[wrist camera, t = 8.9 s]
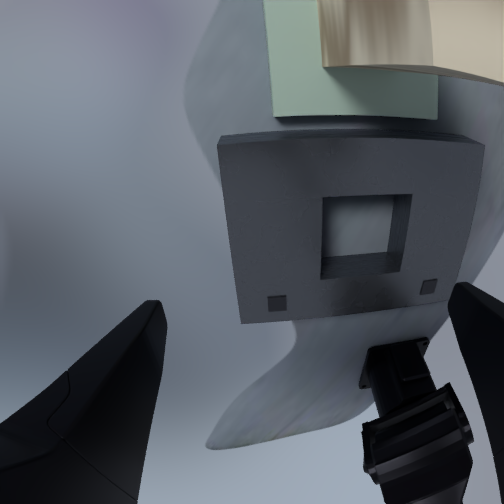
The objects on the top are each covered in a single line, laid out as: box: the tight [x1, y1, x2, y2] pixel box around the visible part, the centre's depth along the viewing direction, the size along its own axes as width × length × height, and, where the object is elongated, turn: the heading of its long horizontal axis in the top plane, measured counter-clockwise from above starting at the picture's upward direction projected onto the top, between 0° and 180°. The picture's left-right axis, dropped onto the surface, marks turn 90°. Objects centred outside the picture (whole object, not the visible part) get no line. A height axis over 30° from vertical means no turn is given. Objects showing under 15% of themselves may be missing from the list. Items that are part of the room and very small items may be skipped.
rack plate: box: [217, 129, 485, 324], centre depth 19 cm, size 12×16×3 cm
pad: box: [262, 0, 438, 120], centre depth 13 cm, size 10×10×1 cm
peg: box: [316, 0, 504, 86], centre depth 8 cm, size 4×4×11 cm
